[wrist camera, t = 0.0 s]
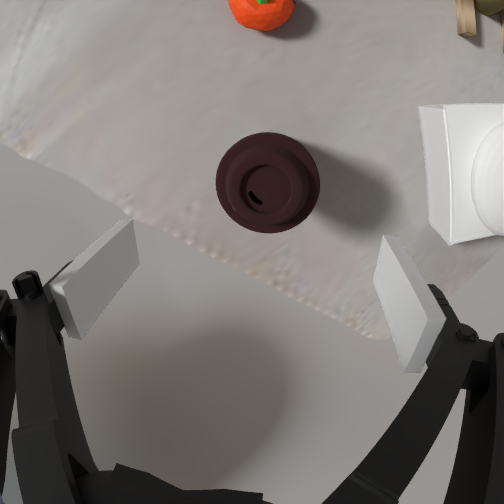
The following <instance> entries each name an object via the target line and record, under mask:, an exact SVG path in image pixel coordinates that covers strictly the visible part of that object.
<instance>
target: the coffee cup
mask: <svg viewBox="0 0 504 504" xmlns="http://www.w3.org/2000/svg"><path fill="white" fill-rule="evenodd" d="M216 191H217V195H218V199H219V201H220V203H221V205H222V207H223V209H224V210H225V211H226V213H227V214H228V215H229V216H230V217H231V218H232V219H233V220H234V221H235V222H236V223H238V224H239V225H241V226H243V227H245V228H247V229H249V230H252V231H255V232H260V233H278V232H283V231H286V230H289V229H291V228H293V227H295V226H297V225H298V224H300V223H301V222H302V221H303V220H305V219H306V218H307V217H308V215H309V214H310V213H311V212H312V210H313V208H314V206H315V205H316V202H317V200H318V196H319V191H320V179H319V173H318V170H317V167H316V164H315V162H314V160H313V158H312V156H311V155H310V153H309V152H308V151H307V150H306V149H305V148H304V147H303V146H302V145H301V144H300V143H298V142H297V141H296V140H294V139H292V138H290V137H288V136H285V135H282V134H278V133H271V132H265V133H257V134H253V135H250V136H247V137H245V138H243V139H241V140H240V141H238V142H237V143H235V144H234V145H233V146H232V147H231V148H230V149H229V150H228V151H227V152H226V153H225V155H224V156H223V158H222V160H221V161H220V164H219V166H218V169H217V174H216Z"/></svg>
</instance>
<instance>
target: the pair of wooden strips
mask: <svg viewBox="0 0 504 504" xmlns="http://www.w3.org/2000/svg"><path fill="white" fill-rule="evenodd" d="M456 10H457V25H458V34H459V35H461V36H464V37H470V36H474V35H476V22H475V10H474V1H473V0H456ZM500 13H501V23H502V36H503V53H504V9H503V10H501V11H500Z"/></svg>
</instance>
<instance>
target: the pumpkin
mask: <svg viewBox="0 0 504 504" xmlns="http://www.w3.org/2000/svg"><path fill="white" fill-rule="evenodd" d="M229 5H230V9H231V11H232V13H233V15H234V17H235V19H236V20H237V21H238V23H239V24H241V25H243V26H244V27H246V28H250V29H255V30H262V31H269V30H272V29H275V28H277V27H279V26H280V25H282V24H283V23H284V22H286V21H287V20H288V18H289V17H290V15H291V14H292V12H293V10H294V8H295V1H294V0H229Z"/></svg>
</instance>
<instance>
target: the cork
mask: <svg viewBox="0 0 504 504" xmlns="http://www.w3.org/2000/svg"><path fill="white" fill-rule="evenodd" d="M473 1H474V8H475V9H476V10H477V11H479V12H480V13H481V14H484V15H486V16H492V15H494V14H496V13H498V12H499V11H501V10H503V9H504V0H473Z"/></svg>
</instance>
